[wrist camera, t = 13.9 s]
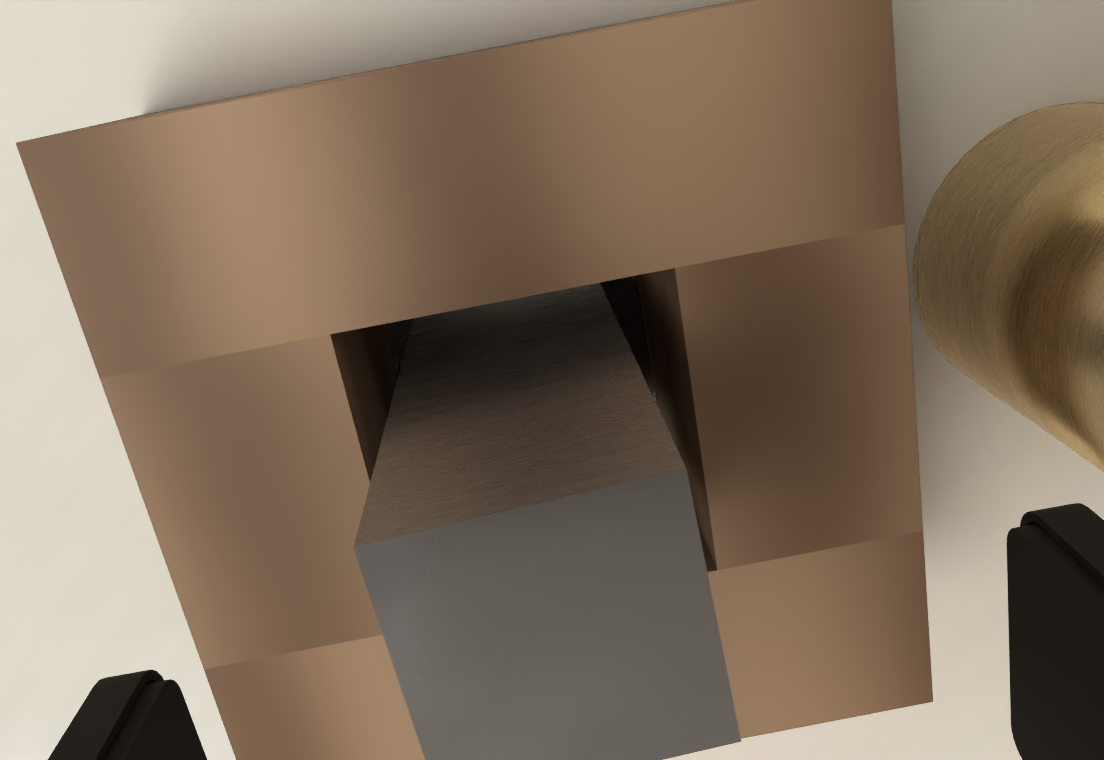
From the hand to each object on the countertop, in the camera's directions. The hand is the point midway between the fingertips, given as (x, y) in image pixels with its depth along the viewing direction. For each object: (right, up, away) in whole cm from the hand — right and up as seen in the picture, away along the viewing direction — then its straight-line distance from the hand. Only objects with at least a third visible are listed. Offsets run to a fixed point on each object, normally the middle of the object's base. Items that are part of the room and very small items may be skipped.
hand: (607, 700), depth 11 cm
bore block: (-1, +4, +13) cm, 13 cm away
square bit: (-1, +4, +13) cm, 13 cm away
